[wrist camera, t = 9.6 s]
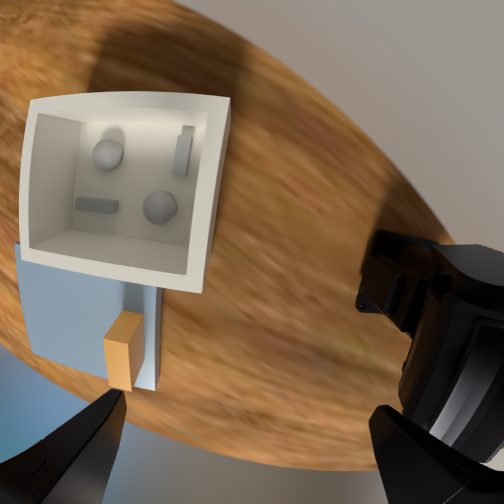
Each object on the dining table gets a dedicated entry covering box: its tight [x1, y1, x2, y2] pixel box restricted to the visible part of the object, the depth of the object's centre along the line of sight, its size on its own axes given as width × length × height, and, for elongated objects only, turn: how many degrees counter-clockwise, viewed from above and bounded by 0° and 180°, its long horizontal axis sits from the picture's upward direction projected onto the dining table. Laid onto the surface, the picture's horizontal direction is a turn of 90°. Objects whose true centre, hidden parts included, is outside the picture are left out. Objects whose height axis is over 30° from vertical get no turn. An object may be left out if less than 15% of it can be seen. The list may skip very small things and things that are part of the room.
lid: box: [15, 241, 163, 392], centre depth 17 cm, size 12×10×6 cm
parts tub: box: [19, 91, 231, 293], centre depth 14 cm, size 11×9×6 cm
